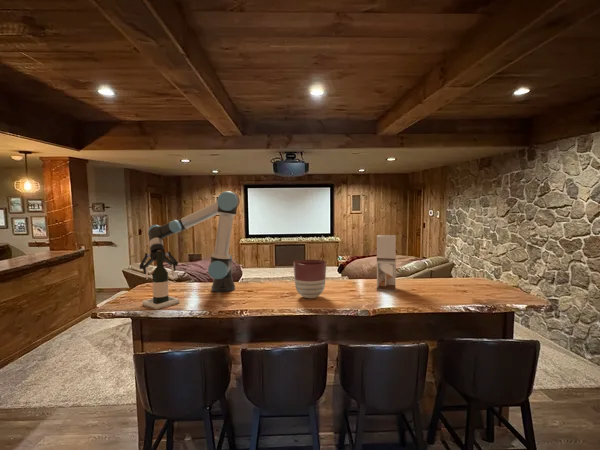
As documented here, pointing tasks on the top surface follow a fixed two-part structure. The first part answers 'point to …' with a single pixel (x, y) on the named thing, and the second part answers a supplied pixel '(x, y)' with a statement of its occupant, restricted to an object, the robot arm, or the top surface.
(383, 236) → the beige dispenser tower
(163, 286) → the wine bottle
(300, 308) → the top surface
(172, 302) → the grey dish
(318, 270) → the planter
